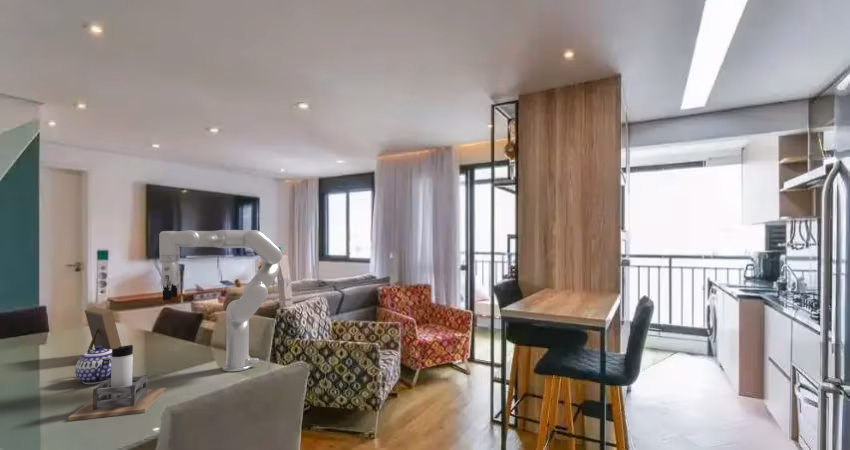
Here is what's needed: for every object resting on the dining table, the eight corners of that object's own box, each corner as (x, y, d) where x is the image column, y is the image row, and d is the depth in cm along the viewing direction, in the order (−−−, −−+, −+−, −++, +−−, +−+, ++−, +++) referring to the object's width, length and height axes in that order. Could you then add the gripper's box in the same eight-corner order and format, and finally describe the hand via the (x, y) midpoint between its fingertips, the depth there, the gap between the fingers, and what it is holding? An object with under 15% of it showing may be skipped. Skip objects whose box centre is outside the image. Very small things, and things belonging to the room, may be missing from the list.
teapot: (68, 379, 177) (69, 344, 177) (110, 370, 188) (111, 338, 189) (82, 391, 161) (83, 353, 162) (128, 381, 173) (128, 346, 173)
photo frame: (106, 352, 220) (107, 305, 221) (124, 358, 208) (125, 308, 209) (71, 359, 207) (72, 309, 208) (88, 365, 195) (89, 313, 196)
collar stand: (165, 390, 162) (165, 370, 162) (144, 412, 141) (145, 389, 141) (99, 396, 156) (100, 375, 156) (68, 421, 135) (68, 396, 135)
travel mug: (121, 405, 144) (122, 348, 145) (105, 403, 146) (107, 347, 146) (136, 398, 150) (138, 343, 151) (122, 397, 152) (123, 343, 153)
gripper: (174, 259, 171) (175, 300, 170) (184, 258, 187) (184, 295, 187) (153, 260, 168) (154, 302, 168) (165, 258, 185) (165, 296, 184)
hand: (170, 298), depth 177 cm, fingers open, 9 cm apart
